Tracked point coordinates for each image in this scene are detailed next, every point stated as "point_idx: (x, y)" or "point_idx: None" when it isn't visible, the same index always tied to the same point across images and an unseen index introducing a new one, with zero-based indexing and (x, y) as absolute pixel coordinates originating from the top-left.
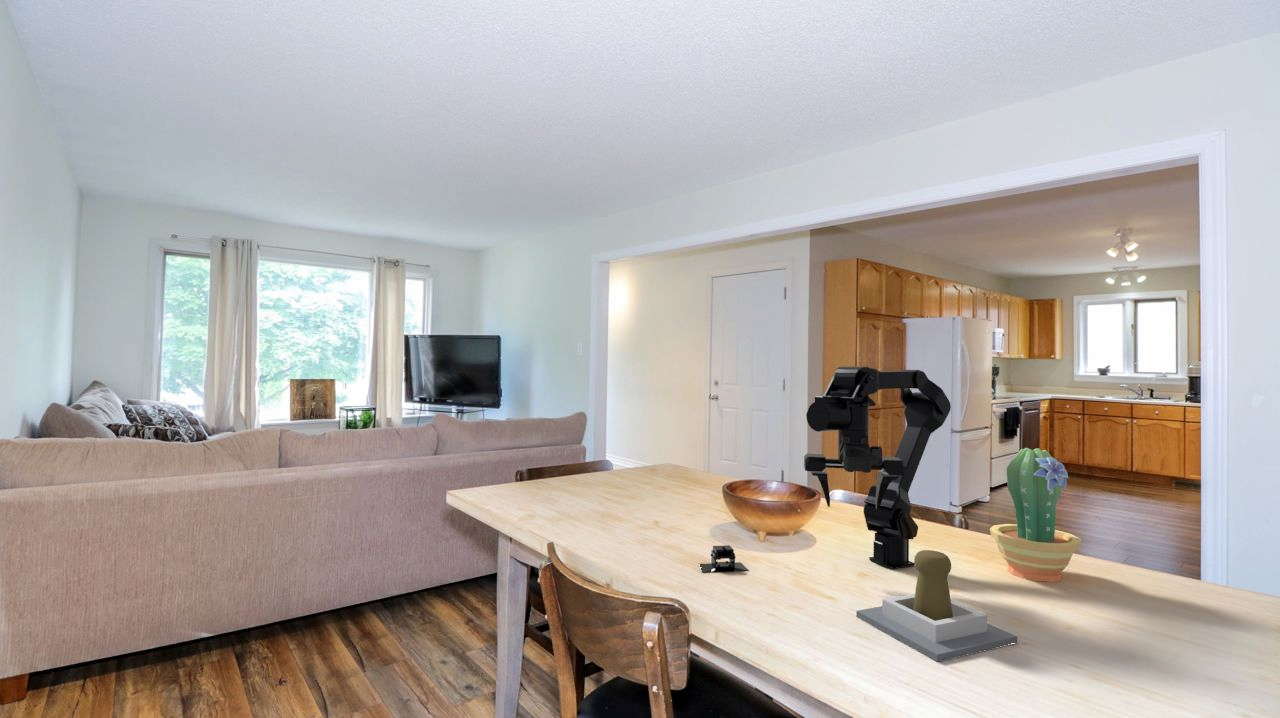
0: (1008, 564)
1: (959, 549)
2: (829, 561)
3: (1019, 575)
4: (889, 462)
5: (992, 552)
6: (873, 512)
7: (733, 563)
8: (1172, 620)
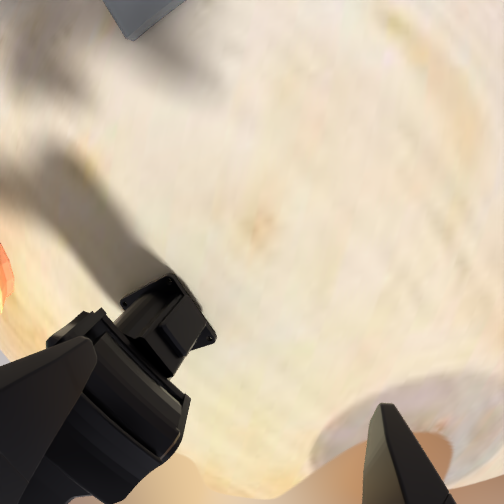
0: (6, 281)
1: None
2: (328, 327)
3: (2, 250)
4: None
5: None
6: (141, 408)
7: None
8: None
